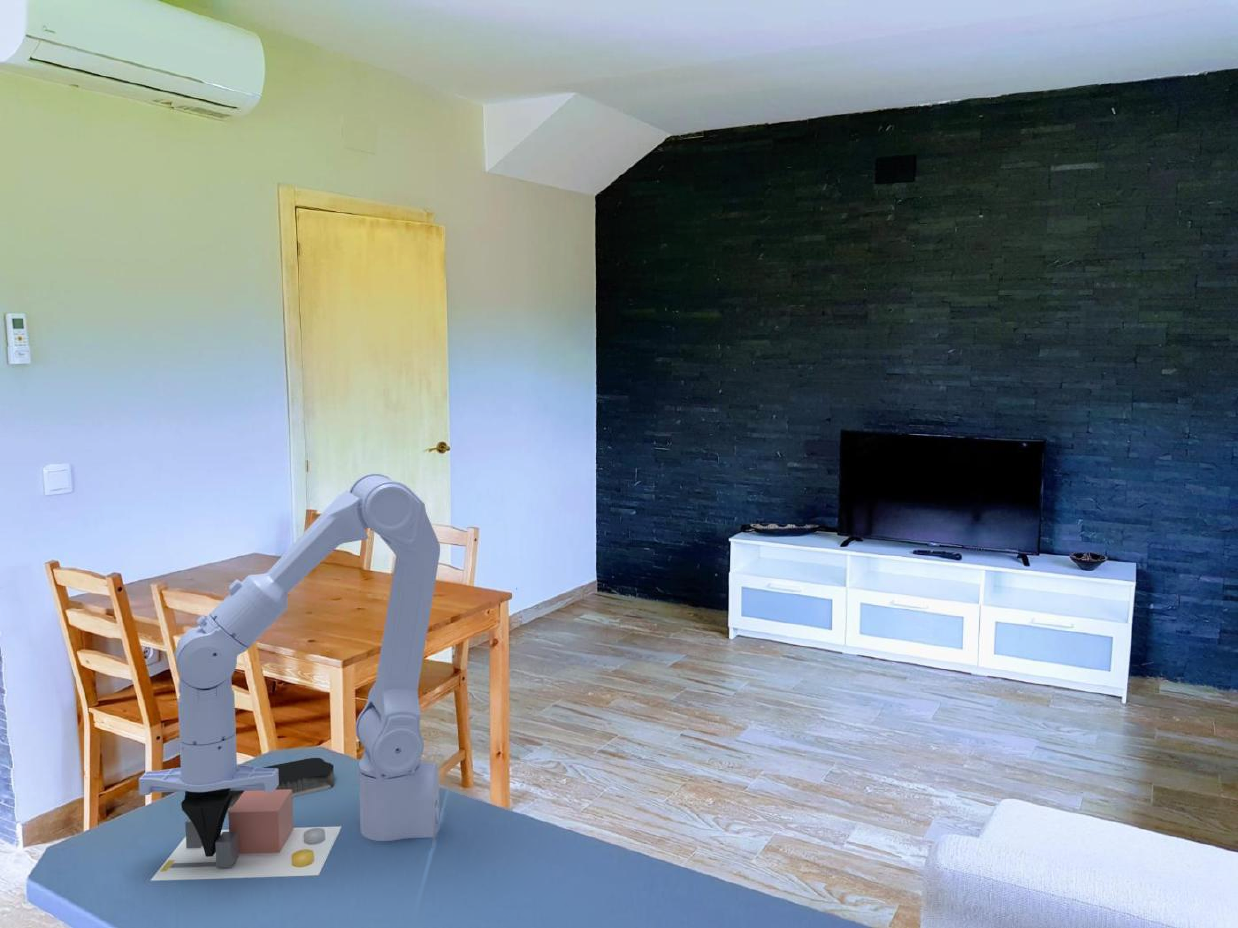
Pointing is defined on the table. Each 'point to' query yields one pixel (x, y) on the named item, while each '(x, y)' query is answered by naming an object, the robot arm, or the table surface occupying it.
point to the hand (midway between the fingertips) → (212, 851)
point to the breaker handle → (227, 849)
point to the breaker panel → (251, 857)
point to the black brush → (300, 777)
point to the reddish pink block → (262, 820)
